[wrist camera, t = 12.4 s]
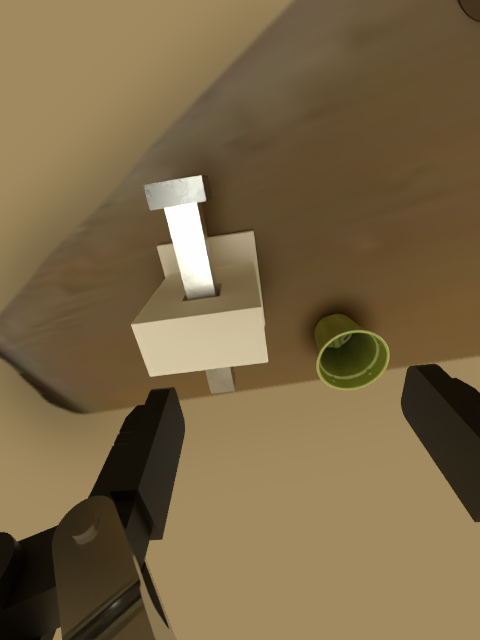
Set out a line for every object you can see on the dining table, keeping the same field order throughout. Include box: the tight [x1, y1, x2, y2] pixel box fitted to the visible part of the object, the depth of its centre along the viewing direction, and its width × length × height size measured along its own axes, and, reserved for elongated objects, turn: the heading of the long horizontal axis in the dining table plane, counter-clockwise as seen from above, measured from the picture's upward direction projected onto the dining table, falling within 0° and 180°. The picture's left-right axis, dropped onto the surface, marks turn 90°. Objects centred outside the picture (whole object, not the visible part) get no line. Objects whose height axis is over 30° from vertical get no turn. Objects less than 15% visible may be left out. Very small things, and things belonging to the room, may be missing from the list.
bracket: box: [131, 230, 268, 377], centre depth 34 cm, size 14×13×16 cm
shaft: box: [143, 175, 235, 394], centre depth 31 cm, size 24×5×5 cm, turn 9°
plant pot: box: [314, 314, 390, 390], centre depth 40 cm, size 9×9×9 cm
